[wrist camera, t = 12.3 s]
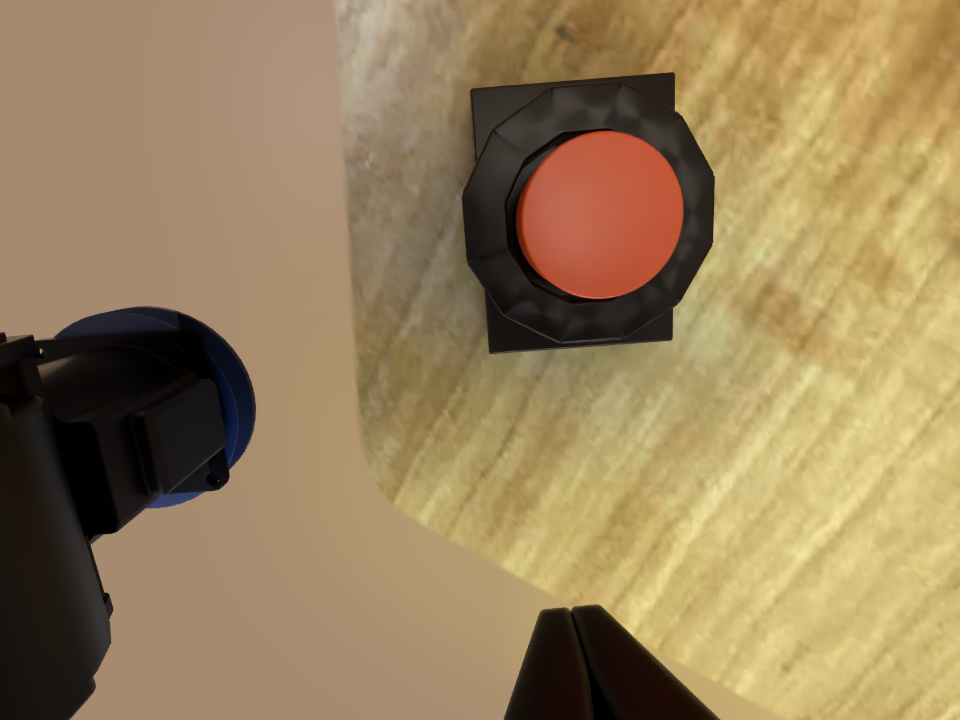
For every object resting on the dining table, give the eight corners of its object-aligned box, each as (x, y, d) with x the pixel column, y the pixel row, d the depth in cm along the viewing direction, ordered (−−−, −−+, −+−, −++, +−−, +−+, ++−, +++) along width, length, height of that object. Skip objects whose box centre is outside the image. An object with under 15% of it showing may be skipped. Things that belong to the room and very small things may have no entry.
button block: (475, 342, 19) (475, 369, 16) (457, 107, 18) (451, 70, 14) (664, 328, 19) (711, 351, 15) (665, 90, 17) (718, 48, 14)
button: (519, 295, 15) (525, 304, 13) (511, 150, 15) (516, 137, 13) (656, 285, 15) (683, 292, 13) (656, 139, 14) (685, 123, 12)
